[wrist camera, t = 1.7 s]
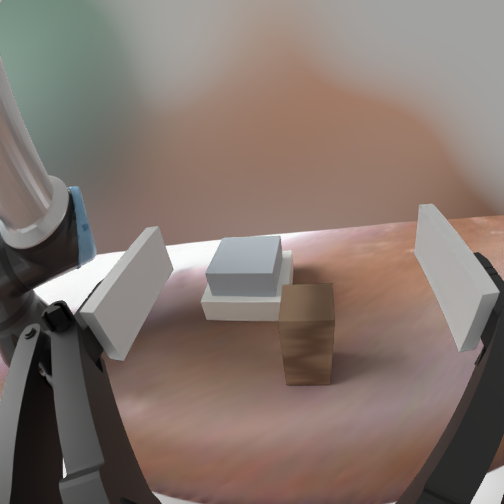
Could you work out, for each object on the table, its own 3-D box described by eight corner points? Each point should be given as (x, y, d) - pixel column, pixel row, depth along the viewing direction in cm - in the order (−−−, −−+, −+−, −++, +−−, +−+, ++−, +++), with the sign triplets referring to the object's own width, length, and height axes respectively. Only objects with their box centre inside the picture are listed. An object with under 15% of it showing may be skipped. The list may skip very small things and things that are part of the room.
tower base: (207, 321, 44) (200, 301, 41) (225, 271, 53) (220, 253, 51) (289, 322, 41) (287, 301, 39) (293, 270, 51) (291, 250, 49)
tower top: (212, 295, 42) (205, 273, 40) (227, 258, 49) (222, 237, 47) (275, 296, 40) (272, 273, 38) (282, 257, 47) (280, 235, 45)
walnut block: (286, 384, 32) (277, 321, 26) (289, 351, 36) (282, 284, 30) (330, 384, 31) (334, 320, 25) (329, 350, 35) (332, 283, 29)
